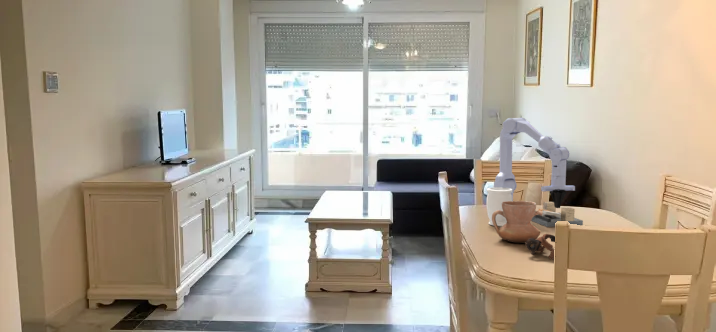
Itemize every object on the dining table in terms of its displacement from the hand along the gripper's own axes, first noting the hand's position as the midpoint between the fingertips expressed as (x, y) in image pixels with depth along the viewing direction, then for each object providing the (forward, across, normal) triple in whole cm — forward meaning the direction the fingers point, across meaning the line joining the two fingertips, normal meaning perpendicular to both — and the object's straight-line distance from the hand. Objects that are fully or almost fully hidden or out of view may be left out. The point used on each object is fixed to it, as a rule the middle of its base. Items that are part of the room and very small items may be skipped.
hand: (557, 207), depth 246 cm
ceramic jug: (+6, -33, -28) cm, 43 cm away
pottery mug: (+6, -34, -50) cm, 60 cm away
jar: (+6, -27, 0) cm, 27 cm away
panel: (+6, -2, 0) cm, 6 cm away
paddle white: (+4, -3, 0) cm, 5 cm away
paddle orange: (+4, -3, +3) cm, 6 cm away
